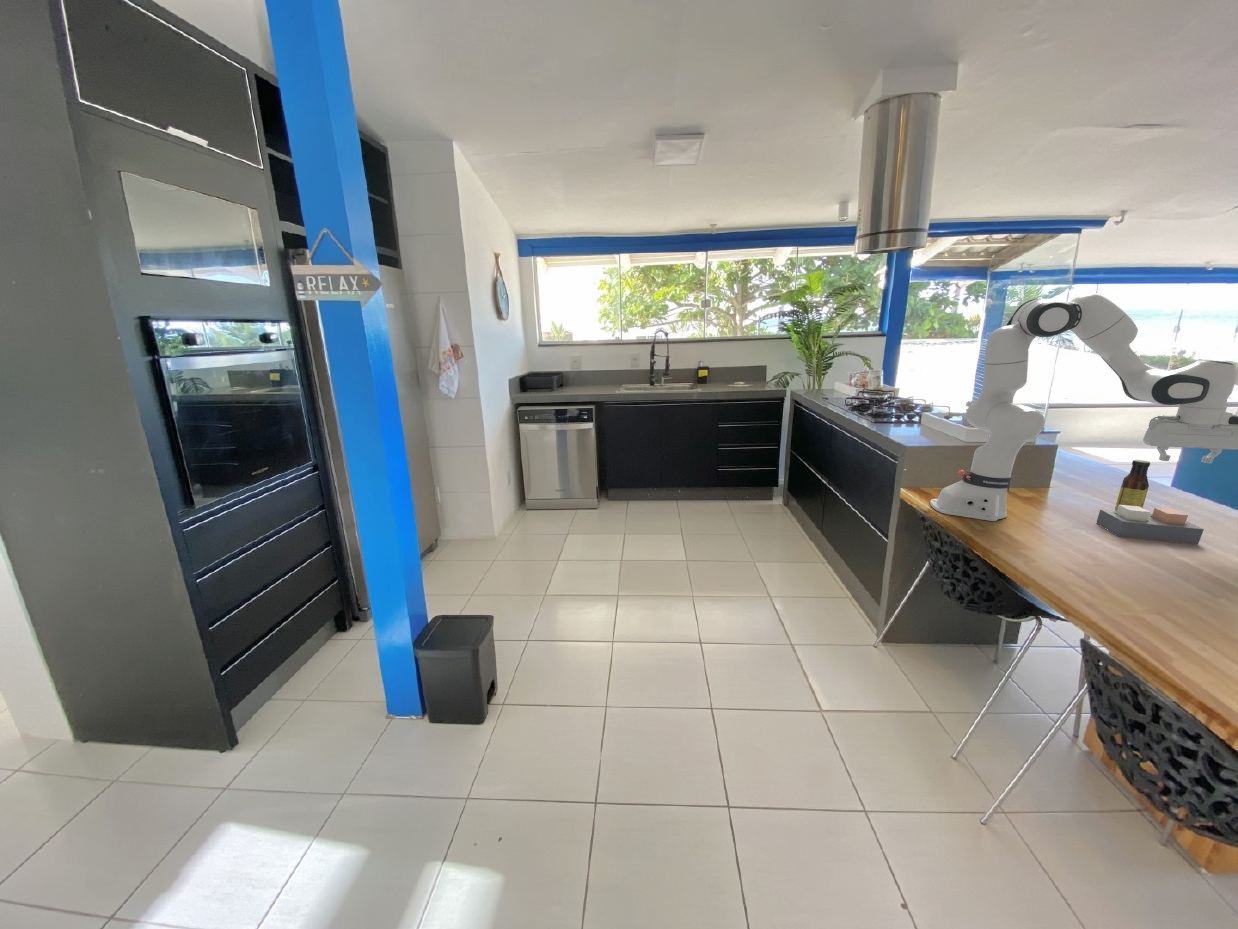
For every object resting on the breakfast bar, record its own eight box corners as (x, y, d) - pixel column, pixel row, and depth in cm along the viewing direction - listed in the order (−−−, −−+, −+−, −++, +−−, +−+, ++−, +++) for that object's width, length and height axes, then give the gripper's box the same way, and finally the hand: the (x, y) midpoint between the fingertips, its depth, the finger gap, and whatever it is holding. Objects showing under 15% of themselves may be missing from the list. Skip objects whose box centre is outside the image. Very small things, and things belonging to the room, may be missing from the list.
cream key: (1125, 521, 147) (1129, 510, 146) (1115, 516, 151) (1118, 504, 150) (1146, 523, 145) (1150, 511, 144) (1134, 517, 150) (1138, 506, 149)
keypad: (1118, 536, 146) (1123, 521, 144) (1096, 523, 156) (1100, 509, 154) (1198, 544, 140) (1203, 529, 139) (1169, 530, 150) (1174, 515, 149)
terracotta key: (1162, 525, 144) (1166, 513, 143) (1150, 519, 149) (1154, 507, 148) (1183, 527, 143) (1188, 515, 142) (1170, 521, 147) (1175, 509, 146)
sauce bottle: (1144, 520, 158) (1163, 464, 152) (1122, 519, 159) (1140, 463, 154) (1128, 513, 164) (1146, 459, 159) (1107, 512, 165) (1124, 458, 160)
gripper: (1159, 417, 138) (1145, 461, 141) (1257, 419, 130) (1240, 466, 134) (1145, 413, 143) (1132, 456, 147) (1238, 415, 136) (1222, 461, 140)
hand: (1184, 461), depth 140 cm, fingers open, 8 cm apart
